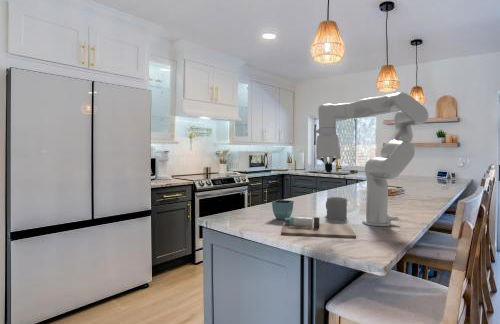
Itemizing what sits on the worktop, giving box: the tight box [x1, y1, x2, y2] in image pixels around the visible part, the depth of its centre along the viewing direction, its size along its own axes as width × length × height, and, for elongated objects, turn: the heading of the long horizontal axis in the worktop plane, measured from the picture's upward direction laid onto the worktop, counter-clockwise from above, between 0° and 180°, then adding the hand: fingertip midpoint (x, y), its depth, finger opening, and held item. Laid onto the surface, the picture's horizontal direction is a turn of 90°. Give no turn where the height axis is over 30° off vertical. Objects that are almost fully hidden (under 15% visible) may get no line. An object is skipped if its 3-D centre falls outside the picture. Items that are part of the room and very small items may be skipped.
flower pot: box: [271, 199, 294, 221], centre depth 161 cm, size 9×9×9 cm
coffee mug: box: [325, 196, 348, 221], centre depth 166 cm, size 13×10×10 cm
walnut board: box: [280, 216, 357, 239], centre depth 138 cm, size 30×18×5 cm, turn 81°
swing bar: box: [289, 216, 314, 227], centre depth 142 cm, size 10×2×4 cm, turn 75°
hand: (328, 172), depth 144 cm, fingers closed
